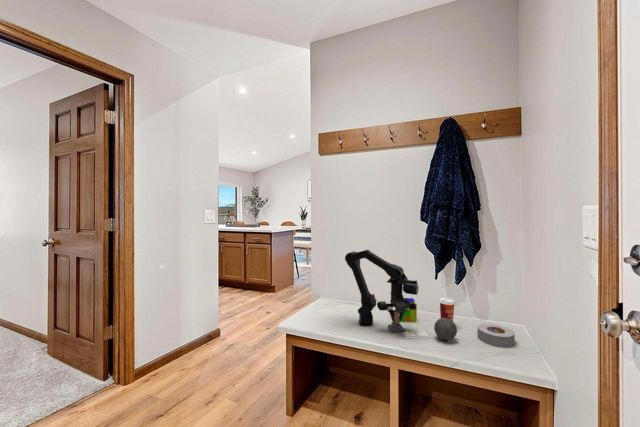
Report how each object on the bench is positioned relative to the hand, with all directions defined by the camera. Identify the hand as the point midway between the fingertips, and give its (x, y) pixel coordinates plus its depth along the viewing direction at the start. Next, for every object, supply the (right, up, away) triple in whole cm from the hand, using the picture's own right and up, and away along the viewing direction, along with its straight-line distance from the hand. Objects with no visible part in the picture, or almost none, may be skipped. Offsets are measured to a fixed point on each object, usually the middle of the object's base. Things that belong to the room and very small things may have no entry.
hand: (396, 322), depth 158 cm
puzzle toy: (+9, -4, +16) cm, 19 cm away
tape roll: (+44, -5, -11) cm, 46 cm away
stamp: (0, -2, 0) cm, 2 cm away
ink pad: (0, -4, 0) cm, 4 cm away
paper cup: (+28, -4, +5) cm, 28 cm away
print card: (+8, -4, -5) cm, 11 cm away
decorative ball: (+21, -5, -10) cm, 24 cm away
